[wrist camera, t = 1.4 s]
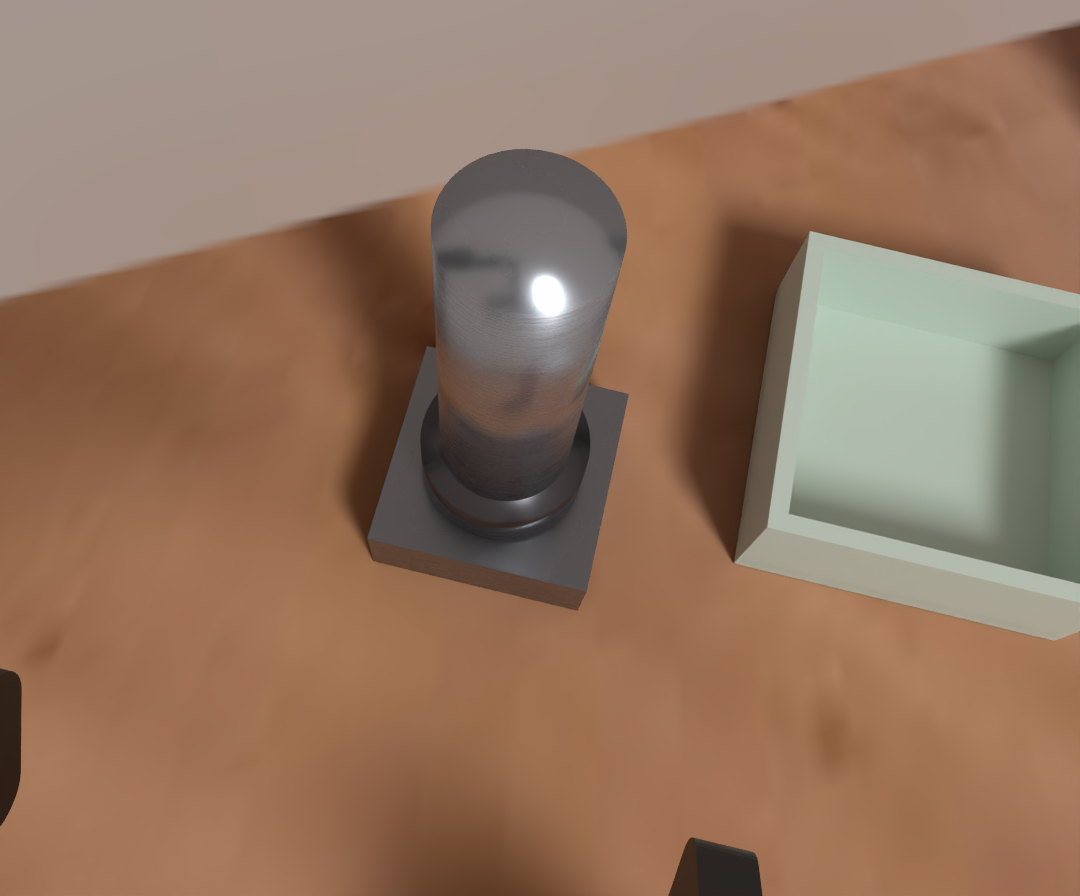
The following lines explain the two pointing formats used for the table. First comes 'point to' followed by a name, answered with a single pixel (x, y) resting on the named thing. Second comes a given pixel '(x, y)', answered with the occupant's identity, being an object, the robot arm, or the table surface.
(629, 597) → the table surface
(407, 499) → the stud block
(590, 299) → the silver domed cylinder
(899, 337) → the bin
